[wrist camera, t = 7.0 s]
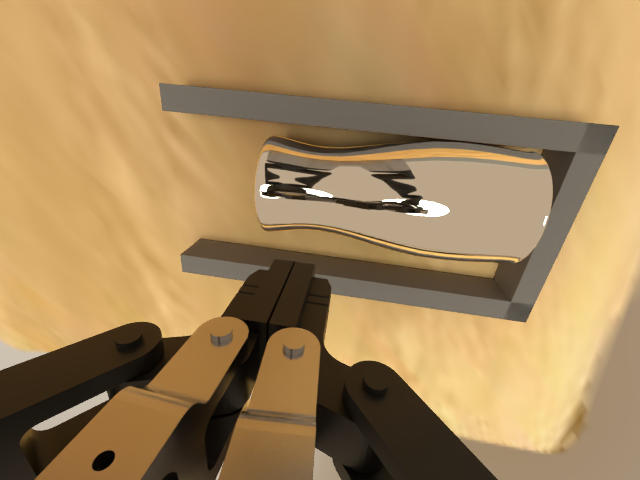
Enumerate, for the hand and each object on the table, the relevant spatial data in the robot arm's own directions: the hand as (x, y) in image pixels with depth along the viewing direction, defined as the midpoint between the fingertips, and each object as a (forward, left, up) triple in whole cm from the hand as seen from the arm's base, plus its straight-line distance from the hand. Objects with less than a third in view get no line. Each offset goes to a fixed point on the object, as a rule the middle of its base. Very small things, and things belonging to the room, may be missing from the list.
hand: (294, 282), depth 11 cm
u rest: (0, +2, -12) cm, 12 cm away
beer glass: (-1, -4, -9) cm, 10 cm away
